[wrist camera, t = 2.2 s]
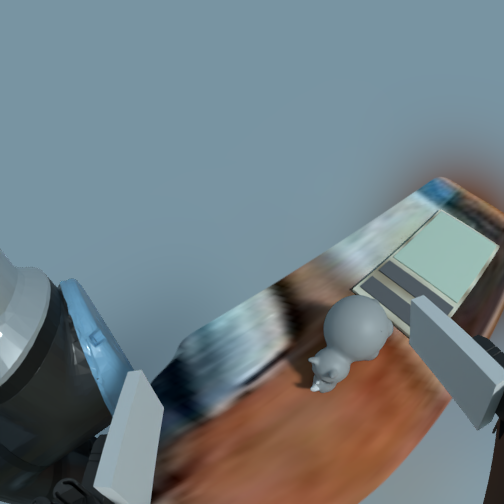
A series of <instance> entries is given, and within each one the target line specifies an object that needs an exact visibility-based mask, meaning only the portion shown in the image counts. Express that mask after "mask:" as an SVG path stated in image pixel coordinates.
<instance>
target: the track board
mask: <svg viewBox="0 0 504 504" xmlns="http://www.w3.org/2000/svg"><path fill="white" fill-rule="evenodd" d="M441 211H443V210H441V209H440V210H439V211H438V212H437V213H436V214H435V215H434V216H433V217H432V218H431V219H430V220H429V221H428V222H427V223H426V224H425V225H424V226H423V227H422V228H421V229H419V230H418V231H417V232H416V233H415V234H414V235H413V236H412V237H411V238H410V239H409V240H408V241H407V242H406V243H405V244H403V245H402V246H401V247H400V248H399V249H398V250H397V251H396V252H395V253H394V254H392V255H391V256H390V257H389V258H388V259H387V260H386V261H385V262H383V263H382V264H381V265H380V266H379V267H378V268H377V269H376V270H374V271H373V272H372V273H371V274H370V275H369V276H367V277H366V278H365V279H364V280H363V281H362V282H360V283H359V284H358V285H357V286H356V287H354V288H353V292H354V293H355V294H356V295H363V296H367V297H370V298H372V299H375V298H374V297H372V296H371V295H370V294H369V293H367V292H366V291H365V290H363V289H362V288H361V287H360V286H361V285H362V284H363V283H364V282H366V281H367V280H368V279H369V278H370V277H371V276H373V277H374V278H376V279H377V280H378V281H380V282H381V283H382V284H384V285H385V286H386V287H388V288H389V289H390V290H392V291H393V292H394V293H396V294H397V295H398V296H400V297H401V298H402V299H403V300H405V301H406V302H407V303H409V304H410V305H411V299H414V298H415V297H413V296H412V295H411V294H409V293H408V292H407V291H405V290H404V289H403V288H401V287H400V286H399V285H397V284H396V283H395V282H393V281H392V280H391V279H389V278H388V277H387V276H385V275H384V274H383V273H381V272H380V271H379V269H380V268H382V267H383V266H384V265H385V264H386V263H387V262H388V261H389V260H390V261H391V262H393V263H394V264H395V265H397V266H398V267H400V268H401V269H403V270H404V271H405V272H407V273H408V274H410V275H411V276H412V277H414V278H415V279H416V280H418V281H419V282H421V283H422V284H423V285H425V286H426V287H427V288H429V289H430V290H431V291H433V292H434V293H435V294H437V295H438V296H439V297H441V298H442V299H443V300H445V301H446V302H447V303H449V304H450V305H451V306H453V307H454V308H453V309H452V310H451V312H450V313H449V314H448V317H449V318H451V317H452V315H453V314H454V313H455V312H456V310H457V309H458V308H459V306H460V305H461V304H462V302H463V301H464V300H465V298H466V297H467V295H468V294H469V293H470V291H471V290H472V288H473V287H474V286H475V284H476V283H477V281H478V280H479V278H480V277H481V275H482V274H483V272H484V271H485V269H486V268H487V266H488V265H489V263H490V262H491V260H492V259H493V257H494V255H495V254H496V252H497V250H498V249H499V247H500V246H498V245H497V244H496V243H494V242H493V241H491V240H490V239H488V238H486V237H485V236H483V235H482V234H480V233H479V232H477V231H476V230H474V229H472V228H471V227H469V226H468V225H466V224H464V223H463V222H461V221H459V220H458V219H456V218H455V217H453V216H451V215H449V214H448V213H446V212H444V211H443V212H444V213H446V214H448V215H449V216H451V217H453V218H454V219H456V220H458V221H459V222H461V223H463V224H464V225H466V226H468V227H469V228H471V229H472V230H474V231H476V232H477V233H479V234H480V235H482V236H483V237H485V238H486V239H488V240H489V241H491V242H492V243H494V244H495V245H497V246H496V248H495V249H494V251H493V253H492V254H491V256H490V257H489V259H488V260H487V262H486V263H485V265H484V266H483V268H482V269H481V271H480V272H479V274H478V275H477V277H476V278H475V279H474V281H473V282H472V284H471V285H470V287H469V288H468V289H467V291H466V292H465V293H464V295H463V296H462V297H461V299H460V300H459V301H458V303H455V302H454V301H453V300H451V299H450V298H449V297H448V296H446V295H445V294H443V293H442V292H441V291H439V290H438V289H437V288H435V287H434V286H433V285H431V284H430V283H429V282H427V281H426V280H424V279H423V278H422V277H420V276H419V275H417V274H416V273H415V272H413V271H412V270H410V269H409V268H408V267H406V266H405V265H403V264H402V263H400V262H399V261H398V260H396V259H395V258H393V257H394V256H395V255H396V254H397V253H398V252H399V251H400V250H401V249H403V248H404V247H405V246H406V245H407V244H408V243H409V242H410V241H411V240H412V239H413V238H414V237H415V236H416V235H417V234H418V233H420V232H421V231H422V230H423V229H424V228H425V227H426V226H427V225H428V224H429V223H430V222H431V221H432V220H433V219H434V218H435V217H436V216H437V215H438V214H439V213H440V212H441ZM379 303H380V302H379ZM380 305H381V306H382V307H383V309H384V310H385V312H386V315H387V317H388V319H390V320H391V321H392V323H393V325H394V326H396V327H397V328H398V329H399V330H400V331H402V332H403V333H404V334H405V335H406V336H408V337H409V338H410V326H408V325H407V324H406V323H405V322H403V321H402V320H401V319H400V318H399V317H397V316H396V315H395V314H394V313H392V312H391V311H390V310H389V309H387V308H386V307H385V306H384V305H382V304H381V303H380Z"/></svg>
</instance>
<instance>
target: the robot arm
mask: <svg viewBox="0 0 504 504" xmlns="http://www.w3.org/2000/svg"><path fill="white" fill-rule="evenodd" d="M409 344H410V345H411V347H412V348H413V349H414V350H415V351H416V353H417V354H418V355H419V356H420V357H421V359H422V360H423V361H424V362H425V364H426V365H427V366H428V367H429V368H430V370H431V371H432V372H433V373H434V375H435V376H436V377H437V378H438V380H439V381H440V382H441V383H442V385H443V386H444V387H445V389H446V390H447V391H448V392H449V394H450V395H451V396H452V397H453V399H454V400H455V401H456V403H457V404H458V405H459V407H460V408H461V409H462V410H463V412H464V413H465V414H466V416H467V417H468V418H469V420H470V421H471V423H472V424H473V425H474V427H475V428H476V429H477V430H479V429H481V428H482V427H484V426H486V425H487V424H488V423H490V422H491V421H492V419H493V417H494V414H495V413H496V414H497V415H498V417H499V419H498V421H497V423H496V425H495V427H494V429H493V432H492V433H495V431H496V429H497V432H496V439H495V447H494V453H493V460H492V465H491V471H490V476H489V481H488V485H487V490H486V494H485V498H484V502H483V504H504V353H503V352H501V350H500V349H499V348H497V347H495V345H494V344H493V343H492V342H491V341H490V340H489V339H487V338H485V337H482V336H480V335H477V336H475V337H473V338H471V337H470V336H469V335H468V334H467V333H466V332H465V331H464V330H463V329H462V328H460V327H459V326H458V325H457V324H456V323H455V322H454V321H453V320H452V319H451V318H449V317H448V316H447V315H446V314H445V313H444V312H443V311H442V310H440V309H439V308H438V307H437V306H436V305H435V304H434V303H432V302H431V301H430V300H429V299H428V298H427V297H425V296H424V295H422V296H419V297H417V298H414V299H411V316H410V340H409ZM163 411H164V407H163V406H162V404H161V402H160V401H159V399H158V397H157V396H156V394H155V392H154V390H153V389H152V387H151V385H150V384H149V382H148V380H147V378H146V376H145V375H144V373H143V371H142V370H137V371H134V369H133V368H132V366H131V364H130V362H129V361H128V359H127V358H126V356H125V354H124V353H123V351H122V349H121V348H120V346H119V345H118V343H117V341H116V340H115V338H114V336H113V335H112V333H111V332H110V330H109V328H108V327H107V325H106V324H105V322H104V320H103V319H102V317H101V316H100V314H99V312H98V311H97V309H96V307H95V306H94V304H93V303H92V301H91V299H90V298H89V296H88V295H87V293H86V292H85V290H84V289H83V288H82V286H81V285H80V284H79V283H78V281H77V280H76V279H73V278H71V279H68V280H66V281H63V282H62V281H61V282H60V285H59V286H58V288H57V287H56V286H55V285H54V284H53V283H52V281H51V280H50V279H49V278H48V277H47V275H46V274H45V273H44V272H43V271H42V270H40V269H38V268H35V267H14V266H13V265H12V263H11V262H10V261H9V259H8V258H7V257H6V256H5V254H4V253H3V252H2V250H1V249H0V501H2V502H6V503H10V504H150V502H151V494H152V486H153V478H154V470H155V463H156V456H157V449H158V442H159V436H160V430H161V423H162V417H163ZM110 424H111V425H110ZM109 425H110V428H109V432H108V434H106V435H100V436H99V437H98V438H96V437H95V435H96V434H98V433H99V432H100V431H102V430H103V429H105V428H106V427H108V426H109Z"/></svg>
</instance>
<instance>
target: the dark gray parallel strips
mask: <svg viewBox="0 0 504 504" xmlns="http://www.w3.org/2000/svg"><path fill="white" fill-rule="evenodd" d="M379 271H380V272H381V273H383V274H384V275H385V276H387V277H388V278H389V279H391V280H392V281H393V282H395V283H396V284H397V285H399V286H400V287H401V288H403V289H404V290H405V291H407V292H408V293H409V294H411V295H412V296H413V297H415V298H417V297H419V296H422V295H424V296H425V297H427V298H428V299H429V300H430V301H431V302H432V303H434V304H435V305H436V306H437V307H438V308H439V309H440V310H442V311H443V312H444V313H445V314H446V315H447V316H448V314H449V313H450V312H451V310H452V309H453V308H454V307H453V306H451V305H450V304H449V303H447V302H446V301H445V300H443V299H442V298H441V297H439V296H438V295H437V294H435V293H434V292H433V291H431V290H430V289H429V288H427V287H426V286H425V285H423V284H422V283H421V282H419V281H418V280H416V279H415V278H414V277H412V276H411V275H410V274H408V273H407V272H405V271H404V270H403V269H401V268H400V267H398V266H397V265H395V264H394V263H393V262H391V261H390V260H389V261H388V262H387V263H386V264H385V265H384V266H383V267H382V268H380V269H379ZM360 287H361V288H362V289H363V290H365V291H366V292H367V293H369V294H370V295H371V296H372V297H374V298H375V299H377V300H378V301H379V302H380V303H381V304H382V305H384V306H385V307H386V308H387V309H389V310H390V311H391V312H392V313H394V314H395V315H396V316H397V317H399V318H400V319H401V320H402V321H403V322H405V323H406V324H407V325H408V326H410V316H411V305H410V304H409V303H407V302H406V301H405V300H403V299H402V298H401V297H400V296H398V295H397V294H396V293H394V292H393V291H392V290H390V289H389V288H388V287H386V286H385V285H384V284H382V283H381V282H380V281H378V280H377V279H376V278H374V277H373V276H371V277H370V278H369V279H368V280H367V281H366V282H364V283H363V284H362V285H361V286H360Z"/></svg>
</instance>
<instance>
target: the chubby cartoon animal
mask: <svg viewBox="0 0 504 504" xmlns="http://www.w3.org/2000/svg"><path fill="white" fill-rule="evenodd" d="M392 332H393V323H392V321H391V320H390V319H388V317H387V315H386V312H385V310H384V309H383V307H382V306H381V305H380V303H379V301H378V300H377V299H372V298H370V297H367V296H363V295H352V296H348V297H345V298H343V299H341V300H339V301H338V302H337V303H335V304H334V305H333V306H332V308H331V309H330V310H329V312H328V314H327V316H326V318H325V322H324V337H325V340H326V343H327V347H326V348H324V349H322V350H320V351H319V352H318V353H317V354H316V355H315V357H311V358H309V359H308V361H309V362H311V363H312V370H313V372H314V373H315V375H314V378H313V385H312V387H311V388H310V390H311V391H320V392H321V393H324V392H329V391H331V390H332V389H333V388H334V387H335V386H336V384H337V383H338V382H340V381H342V380H343V379H344V378H345V377H346V376H347V375H348V373H349V370H350V364H351V363H352V362H354V361H362V360H367V361H369V360H373V359H374V358H376V357H377V355H378V353H379V350H380V349H381V348H382V347H383V345H384V344H385V342H386V339H387V338H388V337H389V336H390V335H391V334H392Z"/></svg>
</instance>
